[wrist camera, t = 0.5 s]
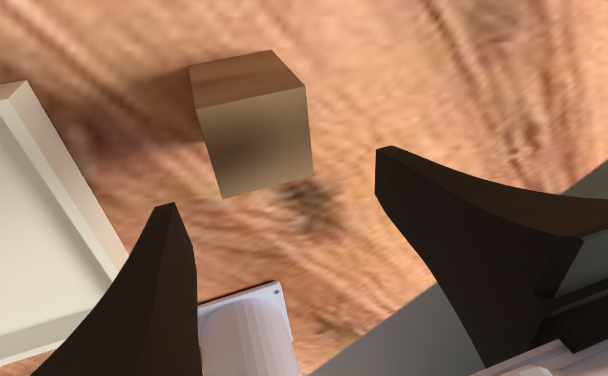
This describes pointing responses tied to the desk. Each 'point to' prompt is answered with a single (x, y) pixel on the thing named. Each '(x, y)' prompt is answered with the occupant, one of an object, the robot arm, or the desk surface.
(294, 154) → the walnut block
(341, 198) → the desk surface
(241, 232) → the desk surface
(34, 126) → the tray
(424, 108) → the desk surface
